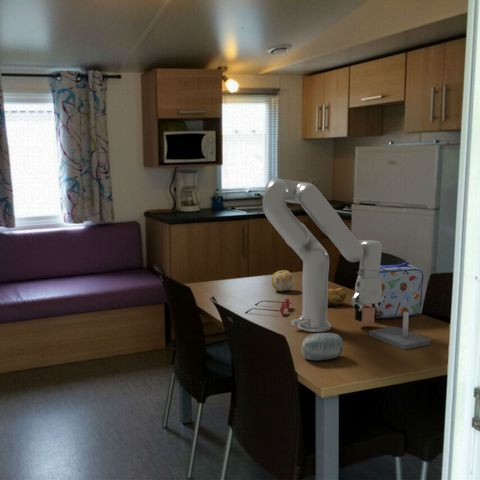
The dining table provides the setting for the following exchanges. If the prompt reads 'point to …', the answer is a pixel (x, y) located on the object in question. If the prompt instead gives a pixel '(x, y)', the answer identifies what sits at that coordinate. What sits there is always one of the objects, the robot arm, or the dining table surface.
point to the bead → (367, 314)
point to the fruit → (282, 280)
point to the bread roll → (336, 296)
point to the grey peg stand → (400, 335)
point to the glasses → (275, 310)
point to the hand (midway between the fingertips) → (365, 319)
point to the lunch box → (400, 290)
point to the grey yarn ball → (322, 346)
